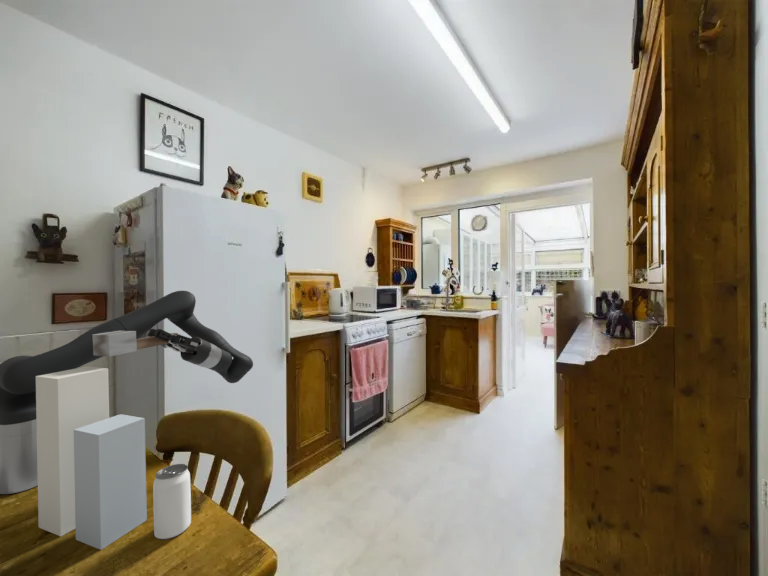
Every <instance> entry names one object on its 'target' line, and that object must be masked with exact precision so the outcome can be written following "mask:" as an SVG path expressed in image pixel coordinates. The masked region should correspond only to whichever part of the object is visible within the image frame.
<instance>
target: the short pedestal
mask: <svg viewBox="0 0 768 576" xmlns="http://www.w3.org/2000/svg"><path fill="white" fill-rule="evenodd" d="M146 455H147V454H146V419H145V417H140V416H139V417H138V416H135V415H134V416H133V415H127V414H122V413H121V414H117V415H114V416H109V418H107V419H104V420H101V421H98V422H95V423H92V424H89V425H86V426H83V427H80V428H77V429H74V473H75V523H76V528H75V540H76V541H78V542H81V543H84V544H85V545H88V546H90V547H93V548H95V549H98V550H100V551H102V550H104V549H105V548H106V547H108V546H109V545H111V544H113V543H114V542H116V541H117V540H118V539H121V538H122V537H123V536H126V534H128V533H129V532H131V531H132V530H134V529H136V528H137V527H140V525H142V524H143V523H145V522H146V521H148V513H147V512H148V511H147V510H148V509H147V507H148V506H147V504H148V503H147V474H146V473H147V462H146Z"/></svg>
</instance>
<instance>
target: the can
mask: <svg viewBox="0 0 768 576" xmlns="http://www.w3.org/2000/svg"><path fill="white" fill-rule="evenodd" d="M191 492H192V491H191V473H190V471H189V469H188V465H187V464H185V463H175V464H172V465H168V466H166V467H163V468H161V469H160V470H158V471H157V472H156V473H155V478H154V481H153V483H152V495H153V496H152V497H153V499H152V501H153V505H152V506H153V535H154V537H155V538H156V539H158V540H164V539H165V540H169V539H173V538H175V537H178V536H180V535H181V534H183V533H184V532H185V531H186V530H187V529H188V528H189V527H190V525H191V523H192V498H191Z"/></svg>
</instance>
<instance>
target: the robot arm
mask: <svg viewBox="0 0 768 576" xmlns="http://www.w3.org/2000/svg"><path fill="white" fill-rule="evenodd" d="M196 302H197V301H196V296H195V295H194V294H193V293H192V292H190V291H187V290H175V291H173V292H170V293H168V294H166V295H164V296H162V297H160V298H159V299H157V300H155V301H153V302H152V303H148V304H146V305H144V306H143V307H139V308H137V309H135V310H132V311H130V312H128V313H125V314H123V315H121V316H117V317H114V318H113V319H110V320H107V321H106V322H102V323H100V324H98V325H95V326H94V327H92V328H90V329H88V330H87V331H85V332H83V333H82V334H80V335H79V336H78V337H76V338H75V339H73V340H72V341H70V342H68V343H66V344H64V345H62V346H59V347H55V348H54V349H51V350H48V351H46V352H43V353H41V354H40V353H39V354H37V355H17V356H13V357H10V358H8V359H5V360H4V361H3V362H1V363H0V495H9V494H10V495H11V494H15V493H16V494H17V493H20V492H25V491H27V490H29V489H32V488H35V487H38V472H37V420H36V376H40V375H45V374H50V373H55V372H60V371H66V370H71V369H76V368H81V367H82V366H84V365H86V364H87V365H88V364H90V363H91V362H94V361H96V360H99V359H100V358H103V357H104V356H96V355H93V336H92V334H99V333H107V332H114V331H136V339H140V338H141V337H142V338H143V336H144V335H146V334H147V335H146V336H147V337H152V336H155V337H157V338H159V339H162V340H164V341H167V342H168V344H163V345H160V346H161V347H163V348H164V349H169V348H170V349H172V351H174V352H178V353H180V358H181V360H183V361H186V362H188V363H191V364H193V365H196V366H198V367H200V368H205V369H209V370H211V371H213V372H216V373H217V374H218V375H220V376H221V377H222V378H223V379H224V380H225V381H226V382H228V383H229V384H235V383H238V382H239V381H240V380H242V378H244V377H245V375H247V374H248V373H249V371H251V370H252V369H253V367H254V361H253V359H252V358H251V357H250V356H249V355H247V354H246V353H243V352H241V351H239V350H238V349H236V348H234V347H233V346H232V345H231V344H230V343H229V342H228V341H227V340H226V339H225V338H224V337H223V336H222V335H221V334H220V333H219V332H217V331H216V330H214V329H211V328H209V327H207V326H205V325H204V324H202V323H201V322H200V321H199V319H197V317H196V316H195V314H194V310H195V307H196V304H197V303H196ZM166 319H167V320H168V321H169V322H170V323H172V324H173V325H175V327H178V328H179V329H180V330H181V331H183V332H184V333H185V334H187V335H188V336H189V337H188V336H185V335H183V334H179V333H178V334H177V335H175V334H173V333H174V332H171V334H170V332H168V331H166V330H163V329H161V328H156V329H155V328H154V327H155V326H156V325H157V324H158V323H161V322H162V321H164V320H166Z"/></svg>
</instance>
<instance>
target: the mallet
mask: <svg viewBox="0 0 768 576" xmlns="http://www.w3.org/2000/svg"><path fill="white" fill-rule="evenodd" d="M169 333H170V332H169ZM171 333H173V334H175V335H177V334H178V335H179V333H178V332H171ZM171 333H170V334H171ZM92 336H93V355H96V356H103V357H108V358H109V357H115V356H119V355H123V354H125V355H126V354H130V353H134V352H137V351H138V350H141V349H142V350H143V349H146V348H152V347H157V346H161V345H163V344H168V342H167V341H164V340H162V339H159V338H157V337H155V336H152V337H149V336H147V337H142V338H141V337H140V338H139V339H136V331H114V332H107V333H99V334H92Z"/></svg>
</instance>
